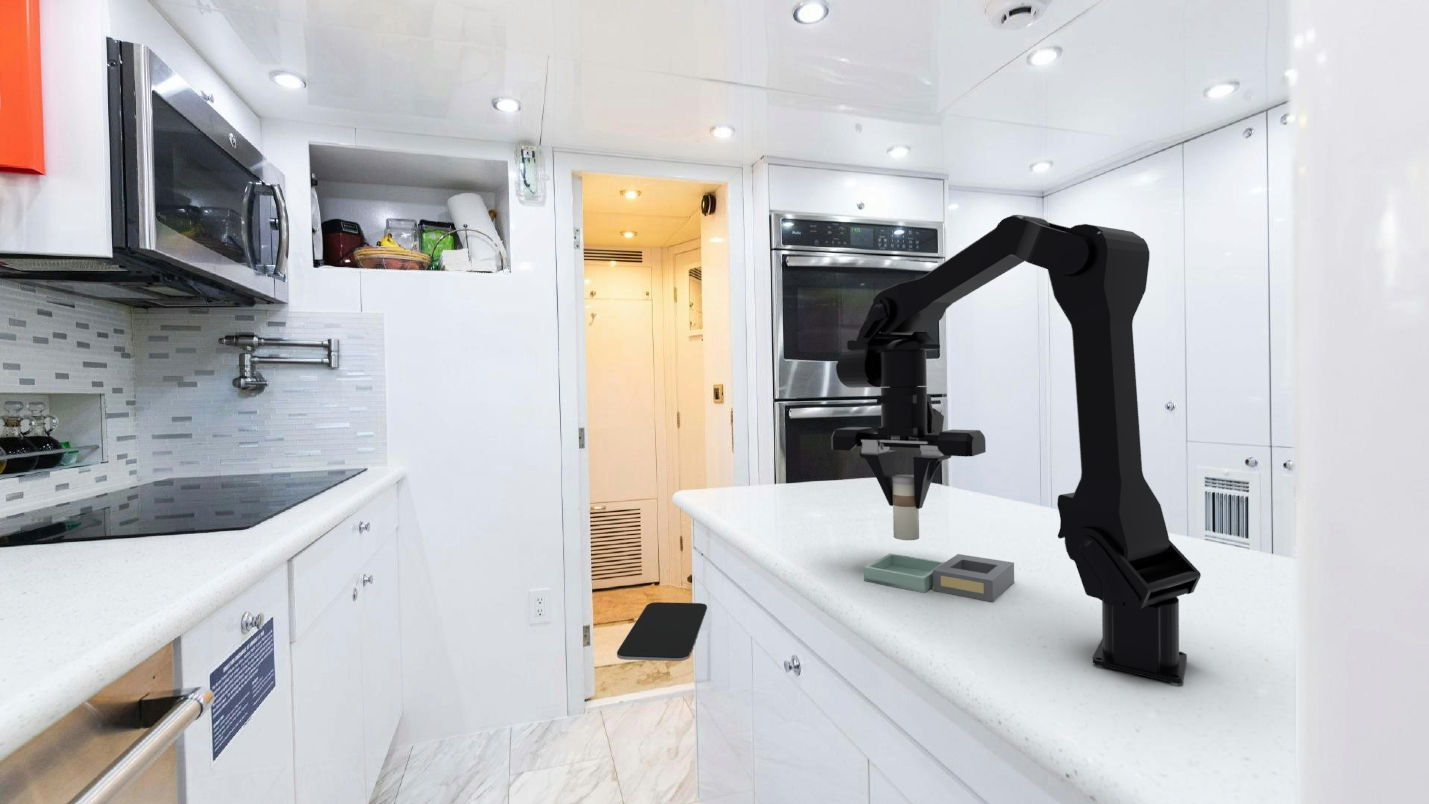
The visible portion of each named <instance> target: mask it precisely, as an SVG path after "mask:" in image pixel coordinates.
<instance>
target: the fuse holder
mask: <svg viewBox="0 0 1429 804" xmlns="http://www.w3.org/2000/svg"><path fill="white" fill-rule="evenodd" d="M1014 583H1015V562H1013V561H1006V560H1000V559H994V558H986V557H980V556H972V555H967V554H961V553H957V554H955V555H954V556H952V557H951V558H950V559H947V560H946V561H945V563H943V564H942V565H940V566H939V567H937V568H935V569H934V570H933V587H932V591H935V592H941V593H945V594H949V595H955V596H959V597H960V596H961V597H965V598H970V599H976V600H981V601H984V602H985V601H986V602H992V603H993V602H995V601H996V600H997V599H998V598H999V597H1000V596H1001V595H1003V593H1004V592H1005V591H1006V590H1008V589H1009V588H1010V587H1011V586H1012V585H1013V584H1014Z"/></svg>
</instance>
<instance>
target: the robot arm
mask: <svg viewBox="0 0 1429 804" xmlns="http://www.w3.org/2000/svg"><path fill="white" fill-rule="evenodd" d="M1025 262H1026V263H1029V264H1030V265H1034V266H1037V267H1039V268H1042V269H1045V270H1047V272H1048V277H1049V281H1050V285H1051V289H1052V293H1053V297H1054V299H1055V300H1056V302H1057V304H1058V305H1059V307H1060V309H1061V310H1062V312H1063V314H1064V315H1065V317H1066V320H1068V322H1069V324H1070V327H1071V330H1072V332H1071V334H1072V347H1073V349H1072V351H1073V364H1074V379H1075V382H1074V383H1075V394H1076V395H1075V396H1076V408H1077V409H1076V410H1077V423H1078V425H1077V426H1078V427H1077V428H1078V439H1079V440H1078V443H1079V456H1080V471H1081V472H1080V473H1081V474H1080V478H1079V482H1078V483H1077V486H1076V488H1075V491H1074V492H1068V493H1062V494H1059V495H1058V496H1057V508H1058V509H1057V510H1058V513H1059V519H1060V527H1059V531H1058V534H1057V538H1058V539H1064V547H1065V551H1066V553H1067V555H1068V557H1069V559H1070V560H1071V561H1073V562H1074V563H1075V566H1076V569H1077V570H1076V571H1078V575H1079V578H1080V581H1081V584H1082V586H1083V589H1084V592H1085V595H1086V596H1088V597H1091V598H1094V599H1098V600H1100V601H1101V609H1102V610H1101V611H1102V612H1101V613H1102V614H1101V618H1102V619H1101V622H1102V624H1101V628H1102V629H1101V630H1102V631H1101V633H1102V636H1101V637H1102V638H1101V640H1100V642H1099V643H1098V646H1097V648H1096V650H1095V652H1094V654H1093V655H1092V663H1093V665H1096V666H1101V667H1105V668H1107V669H1108V668H1109V669H1113V670H1117V671H1121V672H1126V673H1129V674H1134V675H1138V676H1143V677H1147V678H1151V679H1155V680H1160V681H1163V682H1168V683H1173V684H1176V685H1178V684H1179V685H1180V684H1183V682H1184V677H1185V673H1186V672H1185V671H1186V667H1187V666H1186V665H1187V661H1188V660H1187V659H1188V656H1187V653H1185V652H1183V651H1180V599H1179V598H1178V597H1180V596H1184V595H1189V594H1193V593H1194V592H1195V590H1196V587H1197V585H1198V583H1199V581H1200V579H1201V574H1202V573H1201V572H1200V571H1199V570H1198V568H1196V566H1194V564H1193V563H1192V562H1191V561H1190V560H1189V559H1188V558H1187V557H1186V556H1185V555H1184V554H1183V553H1182V552H1181V550H1180V549H1178V547H1177V546H1176V545H1175V544H1174V543H1173V542H1172V541H1171V540H1170V538H1169V537H1170V536H1169V532H1168V528H1167V526H1166V520H1165V517H1164V512H1163V509H1162V506H1161V505H1162V504H1161V503H1160V501H1159V499H1158V498H1157V496H1156V495H1155V493H1154V492H1153V490H1152V488H1151V487H1150V486H1149V483H1148V482H1147V480H1146V479H1145V477H1144V473H1143V465H1142V464H1143V463H1142V461H1143V460H1142V450H1141V449H1142V448H1141V433H1140V419H1139V404H1138V403H1139V402H1138V390H1137V389H1138V388H1137V376H1136V375H1137V374H1136V362H1135V361H1136V359H1135V348H1134V347H1135V344H1134V332H1133V331H1134V330H1133V328H1134V327H1133V323H1134V321H1133V320H1134V317H1135V316H1136V315H1135V314H1136V313H1137V311H1138V309H1139V306H1140V304H1141V301H1142V299H1143V296H1144V295H1145V292H1146V290H1147V282H1148V274H1149V266H1150V248H1149V245H1148V243H1147V242H1146V240H1145V238H1143V237H1141V236H1140V235H1138V234H1137V233H1136V232H1133V231H1132V230H1131V231H1129V230H1125V229H1119V228H1115V227H1114V228H1113V227H1108V226H1107V227H1105V226H1100V225H1094V224H1087V223H1083V224H1077V225H1076V224H1075V225H1073V226H1071V227H1068V226H1063V225H1059V224H1056V223H1052V222H1049V221H1047V219H1044V218H1042V217H1035V216H1028V215H1022V214H1012V215H1009V216H1007V217H1005V218H1002V220H1000V222H999V223H997V225H996V226H995V227H994V228H993V229H992V230H990V231H989V232H987V233H985V235H983V236H981V237H980V238H978V239H977V240H975V241H974V242H972V243H971V244H970V245H968V246H966V247H965V248H964V249H962V250H961V251H958V252H957V253H956V254H955V255H953V256H952V257H950V258H949V259H947V260H945V261H944V262H942V263H941V264H939V265H938V266H937V267H935V268H934V269H932V270H931V271H929V272H928V273H926V274H925V275H922V276H921V277H917V278H915V279H910V280H907V281H902V282H898V283H896V284H893V285H891V286H888V287H886V288H885V289H882V290H880V291H879V292H877V294H875V296H874V297H873V300H872V304H871V307H870V309H869V311H868V313H867V315H866V318H864V319H865V320H864V321H863V324H862V325H861V327H860V329H859V331H858V332H859V333H858V335H857V337H856V339H854V340H853V339H851V340H847V342H846V347H847V349H845V350H844V351H842V352H841V353H840V355H839V357H838V359H837V363H836V364H835V371H836V374H837V375H836V376H837V379H838V380H839V382H840V383H841V384H842V385H844V386H845V387H847V388H850V389H854V388H858V389H860V388H864V389H865V388H880V395H876V404H880V412H881V413H880V415H881V426H878V427H877V432H876V431H875V429H874V428H873V427H867V426H866V427H861V426H850V427H849V426H848V427H843V428H842V427H841V428H835V429H834V431H833V433H832V435H831V437H830V441H831V442H830V443H831V447H830V448H831V450H833V451H849V452H850V451H853V450H854V449H855V448H856V447H860V448H861V453H858V457H859V459H864V460H865V461H866V463H867V465H868V466H869V467H870V470H871V472H872V473H873V475H874V476H875V479H876V480H877V482H878V484H879V486H880V488H881V490H882V493H883V494H884V497H885V499H886V501H887V503H888V505H889V506H890V507H893V499H892V493H893V483H892V476H893V475H896V472H895V462H896V457H897V454H898V453H897V452H898V450H890V448H906V449H907V448H908V449H919V451H920V455H915V456H913V458H912V460H913V462H912V463H913V475H914V497H915V504H916V508H917V509H919V510H920V509H922V508H923V507H924V503H925V501H926V497H927V495H928V492H929V490H930V489H929V488H930V486H931V482H932V480H933V478H934V476H935V474H936V471H937V469H938V468H939V466H940V465H941V463H943V461H946V460H948V459H951V458H952V457H966V458H967V457H975V456H978V455H981V454H984V453H986V452H987V450H986V448H987V447H986V437H985V434H984V433H983V432H982V431H981V430H979V429H949V430H944V429H943V428H944V420H945V415H943V414H942V413H941V412H940V411H939V410H938V409H936V408H933V405H932V398H931V394H930V393H927V392H928V387H927V384H928V382H927V380H928V379H927V351H938V350H939V349H940V348H941V346H940V343H938V341H936V340H935V339H933V338H932V337H931V336H930V335H929V332H928V331H929V330H931V328H932V327H934V326H935V325H936V324H937V323H939V322H940V321H941V320H942V319H943V317H944V315H945V313H946V310H948V308H949V307H951V306H952V305H953V304H954V303H957V301H959V300H961V299H963V298H964V297H966V296H968V295H970V294H971V293H973V292H975V291H976V290H978V289H980V288H981V287H983V286H985V285H986V284H988V283H990V282H991V281H993V280H996V279H997V278H998V277H1000V276H1002V275H1003V274H1005V273H1007V272H1009V271H1010V270H1012V269H1014V268H1015V267H1017V266H1019V265H1020V264H1022V263H1025Z"/></svg>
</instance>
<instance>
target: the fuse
mask: <svg viewBox="0 0 1429 804" xmlns="http://www.w3.org/2000/svg"><path fill="white" fill-rule="evenodd" d="M892 483H893V493H892V499H893V506H892V514H893V515H892V516H893V517H892V521H893V524H892V525H893V526H892V528H893V538H894V539H896V540H900V541H916V540H919V539H920V509H917V508H916V504H915V497H914V474H903V473H902V474H901V473H900V474H895V475H893V476H892Z"/></svg>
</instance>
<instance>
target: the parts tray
mask: <svg viewBox="0 0 1429 804" xmlns="http://www.w3.org/2000/svg"><path fill="white" fill-rule="evenodd" d="M945 562H946V561H945ZM945 562H944V561H939V560H932V559H926V558H920V557H914V556H909V555H902V554H895V553H891V552H890V553H888V554H886V555H884V556H882V557H880V558H879V559H877V560H874V561H872V562H870V563H869V564H867V565H865V566H864V567H863V581H864V582H869V583H874V584H877V585H878V584H879V585H884V586H888V587H892V588H898V589H904V590H908V591H915V592H920V593H924V594H925V593H926V592H928V591H929V590H931V589H933V570H934V569H935V568H937V567H939V566H940V565H942V564H943V563H945Z"/></svg>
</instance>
